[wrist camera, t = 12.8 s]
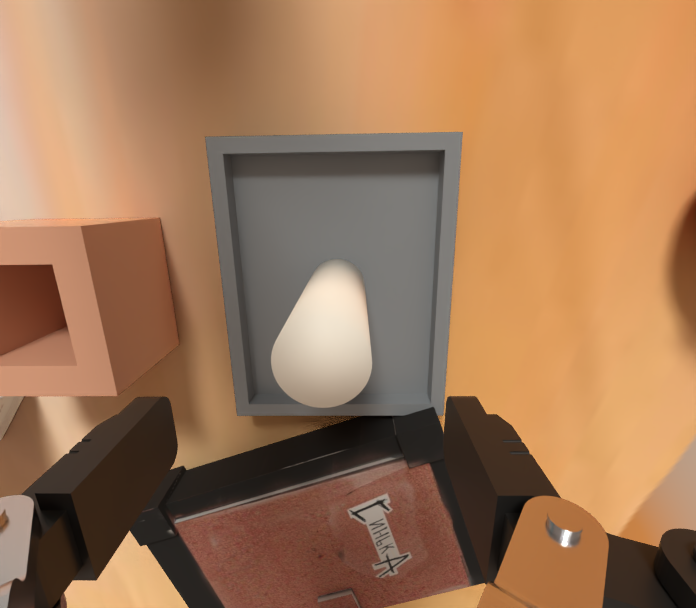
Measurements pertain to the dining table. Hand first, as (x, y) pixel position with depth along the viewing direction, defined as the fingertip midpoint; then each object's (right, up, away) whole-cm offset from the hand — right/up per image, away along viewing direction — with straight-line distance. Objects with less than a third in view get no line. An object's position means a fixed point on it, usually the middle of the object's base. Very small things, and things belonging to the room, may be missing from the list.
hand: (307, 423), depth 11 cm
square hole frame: (-18, +5, +18) cm, 25 cm away
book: (-1, -16, +24) cm, 29 cm away
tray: (0, +5, +17) cm, 18 cm away
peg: (0, +5, +16) cm, 17 cm away
